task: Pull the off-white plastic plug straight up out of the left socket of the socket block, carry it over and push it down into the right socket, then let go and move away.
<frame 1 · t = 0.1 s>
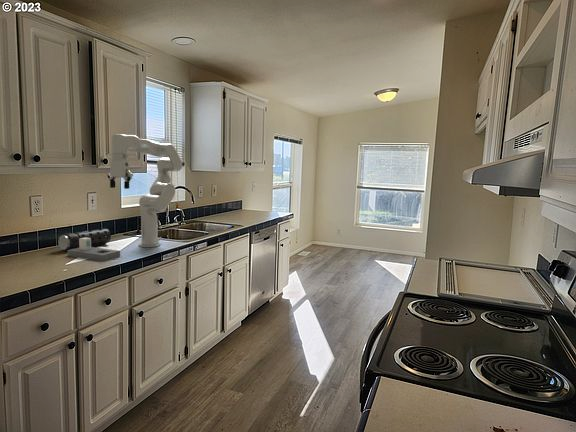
hand: (119, 188, 214), 37 cm above the worktop, tool pointing down, fingers open, 9 cm apart
plug: (85, 254, 209), resting on socket block
socket block: (94, 256, 207), on the worktop
black flashlight: (85, 248, 227), on the worktop
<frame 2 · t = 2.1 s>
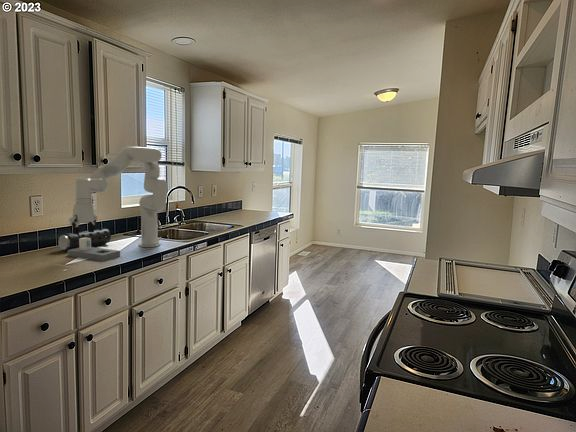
hand: (83, 233, 207), 12 cm above the worktop, tool pointing down, fingers open, 9 cm apart
nothing on the worktop moved.
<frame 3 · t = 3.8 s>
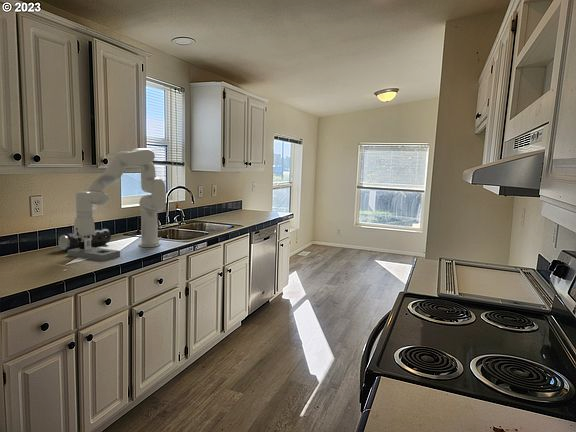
hand: (85, 247, 208), 4 cm above the worktop, tool pointing down, fingers closed on plug, 4 cm apart
plug: (85, 254, 209), point 1 cm above the worktop, touching gripper, socket block
everything else where it was.
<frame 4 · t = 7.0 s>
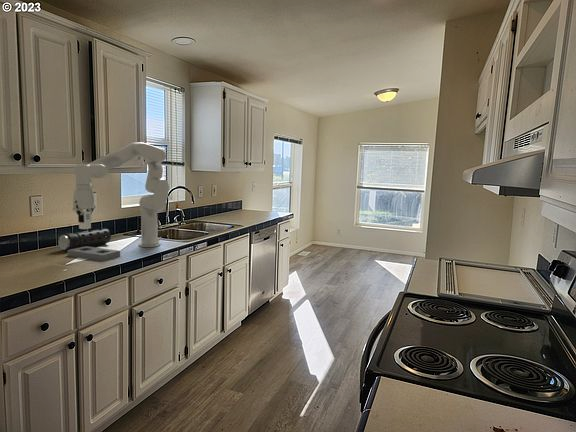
hand: (84, 221, 206), 19 cm above the worktop, tool pointing down, fingers closed on plug, 4 cm apart
plug: (85, 228, 207), point 15 cm above the worktop, touching gripper
everything else where it was.
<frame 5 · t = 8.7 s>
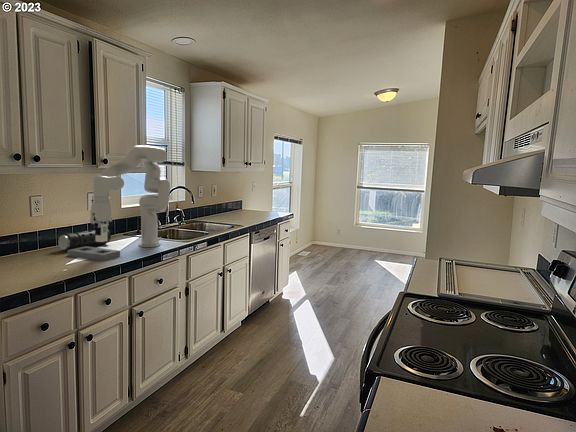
hand: (101, 234, 203), 13 cm above the worktop, tool pointing down, fingers closed on plug, 4 cm apart
plug: (101, 241, 203), point 9 cm above the worktop, touching gripper
everything else where it was.
when the fingers open (5 cm above the worktop, at t = 10.3 s): plug stays where it is, resting on socket block.
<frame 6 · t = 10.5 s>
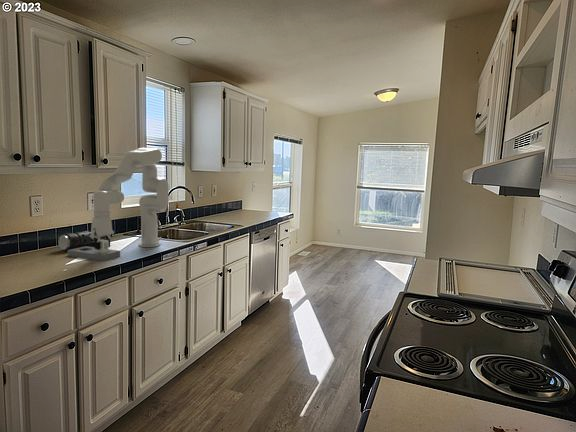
hand: (102, 247, 204), 6 cm above the worktop, tool pointing down, fingers open, 6 cm apart
plug: (102, 257, 205), point 1 cm above the worktop, touching socket block
everything else where it was.
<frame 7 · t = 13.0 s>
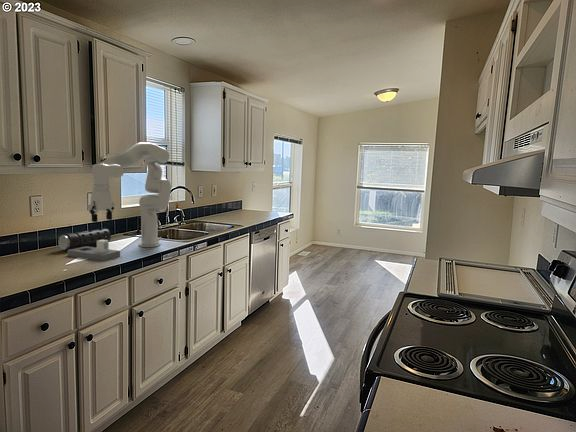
hand: (102, 220, 202), 20 cm above the worktop, tool pointing down, fingers open, 9 cm apart
nothing on the worktop moved.
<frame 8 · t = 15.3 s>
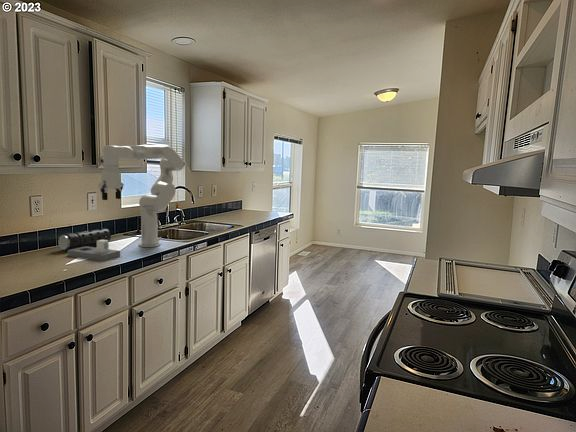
hand: (111, 199, 214), 30 cm above the worktop, tool pointing down, fingers open, 9 cm apart
nothing on the worktop moved.
at the end: plug 0.1 cm from the target spot on the socket block, point 0.5 cm above the socket block's base; plug tilted 0°; the gripper is holding nothing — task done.
